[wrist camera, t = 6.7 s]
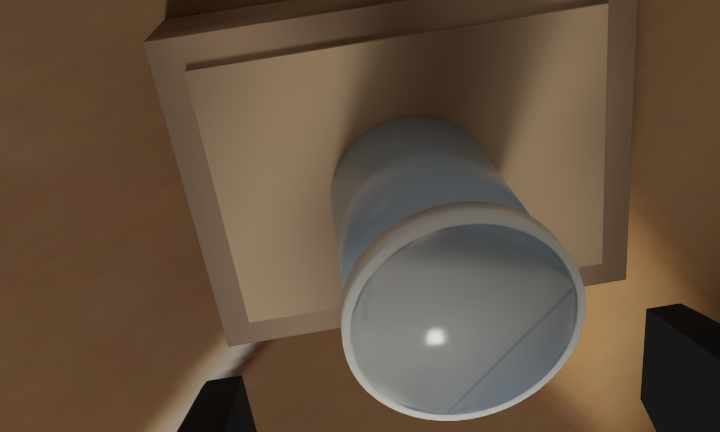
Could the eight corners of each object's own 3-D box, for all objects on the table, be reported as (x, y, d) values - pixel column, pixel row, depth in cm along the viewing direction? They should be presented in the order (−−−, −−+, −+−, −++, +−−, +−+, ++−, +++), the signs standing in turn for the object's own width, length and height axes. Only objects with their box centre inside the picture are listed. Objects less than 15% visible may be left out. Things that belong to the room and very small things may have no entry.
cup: (495, 98, 17) (589, 197, 12) (500, 256, 19) (582, 400, 14) (312, 125, 17) (325, 238, 12) (337, 281, 19) (358, 437, 14)
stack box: (590, -49, 19) (642, -37, 16) (586, 233, 23) (628, 281, 20) (164, 19, 19) (142, 43, 16) (235, 292, 23) (227, 349, 20)
